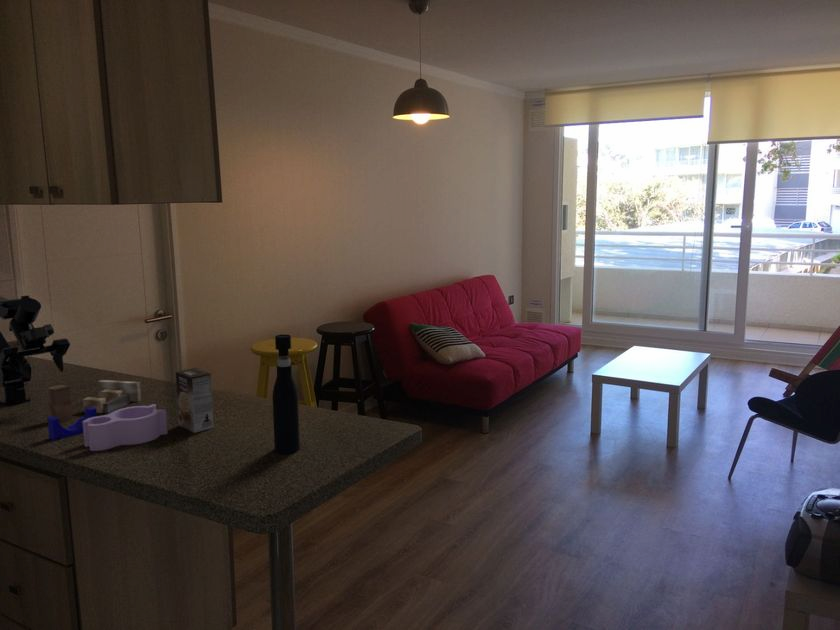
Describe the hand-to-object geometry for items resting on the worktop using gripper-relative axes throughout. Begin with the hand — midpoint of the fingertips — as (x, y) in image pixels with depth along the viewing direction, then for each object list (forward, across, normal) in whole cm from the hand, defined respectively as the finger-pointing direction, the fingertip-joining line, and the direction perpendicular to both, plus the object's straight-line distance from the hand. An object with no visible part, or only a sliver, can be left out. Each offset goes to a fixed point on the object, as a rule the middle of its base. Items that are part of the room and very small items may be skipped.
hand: (46, 374), depth 201 cm
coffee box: (+40, +20, -21) cm, 50 cm away
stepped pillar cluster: (+12, +15, +6) cm, 20 cm away
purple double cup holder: (+35, +3, -16) cm, 39 cm away
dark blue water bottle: (+64, +24, -45) cm, 82 cm away
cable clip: (+24, -4, -5) cm, 24 cm away
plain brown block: (+14, 0, +4) cm, 15 cm away
